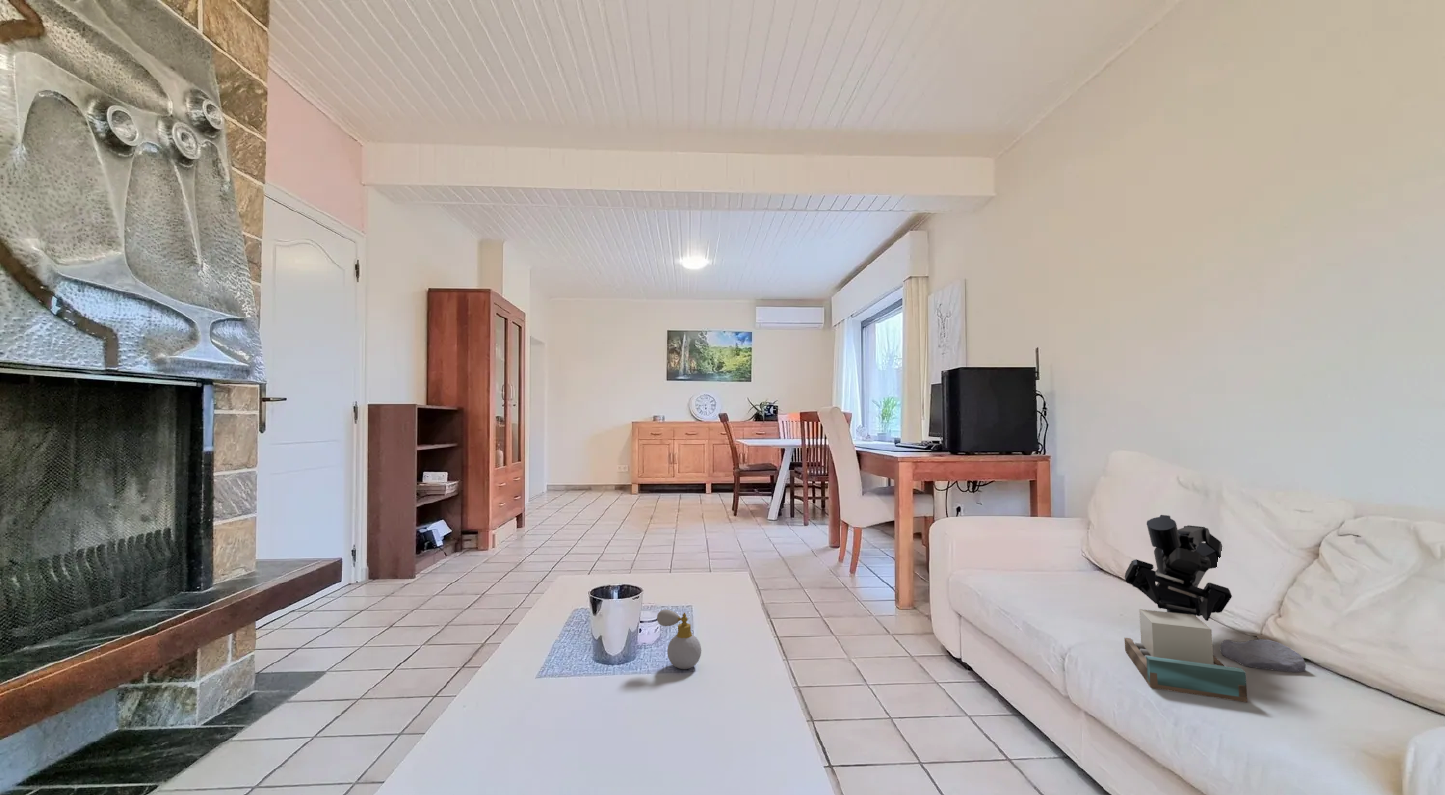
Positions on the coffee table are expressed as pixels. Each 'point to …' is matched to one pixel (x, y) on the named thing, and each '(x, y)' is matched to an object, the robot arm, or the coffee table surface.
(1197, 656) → the limestone slab
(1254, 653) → the stone block
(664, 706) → the coffee table surface
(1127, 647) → the roller bed
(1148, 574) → the robot arm
